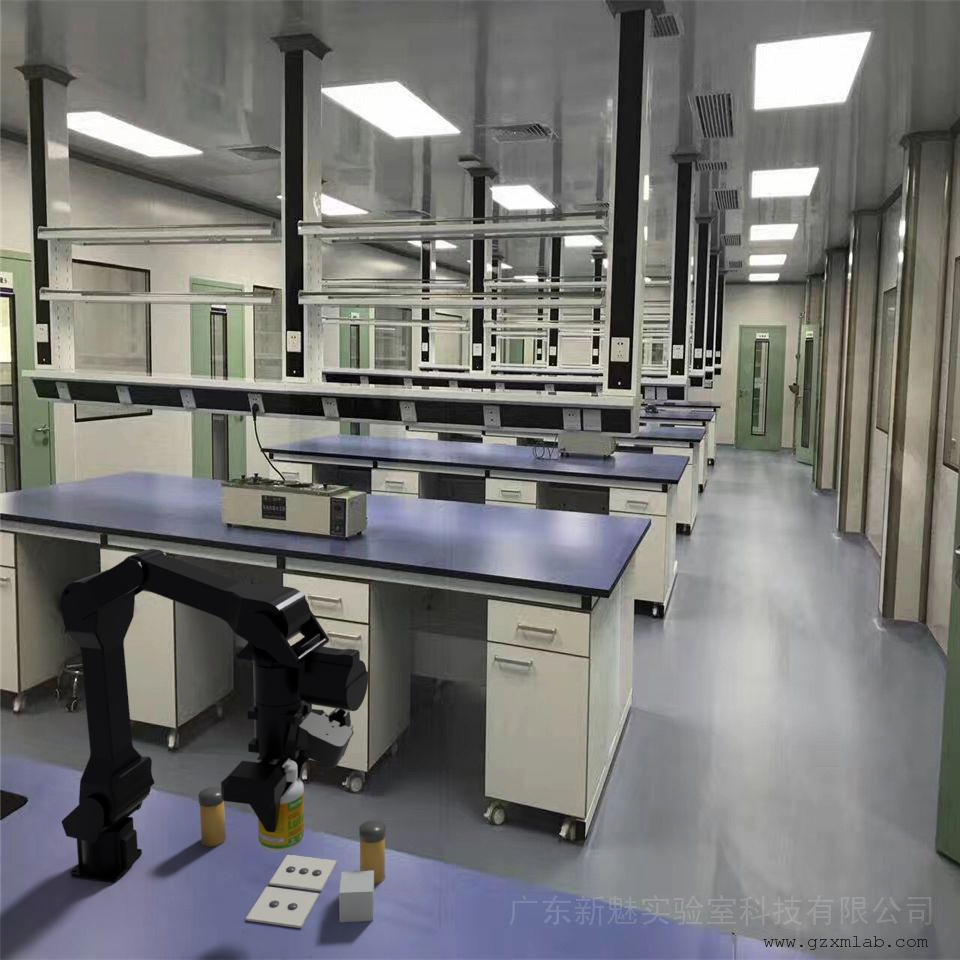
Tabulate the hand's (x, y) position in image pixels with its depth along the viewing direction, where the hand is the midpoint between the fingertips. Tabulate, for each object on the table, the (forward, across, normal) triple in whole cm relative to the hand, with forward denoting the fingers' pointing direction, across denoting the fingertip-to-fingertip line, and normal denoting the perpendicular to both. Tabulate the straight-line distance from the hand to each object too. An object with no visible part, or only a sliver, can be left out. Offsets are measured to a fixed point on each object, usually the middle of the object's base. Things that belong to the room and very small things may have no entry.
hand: (280, 817), depth 101 cm
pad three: (+12, +7, 0) cm, 14 cm away
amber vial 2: (+12, +8, -9) cm, 17 cm away
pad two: (+12, 0, 0) cm, 12 cm away
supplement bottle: (+3, 0, 0) cm, 3 cm away
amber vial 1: (+12, +11, +15) cm, 22 cm away
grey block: (+12, +1, -9) cm, 15 cm away
